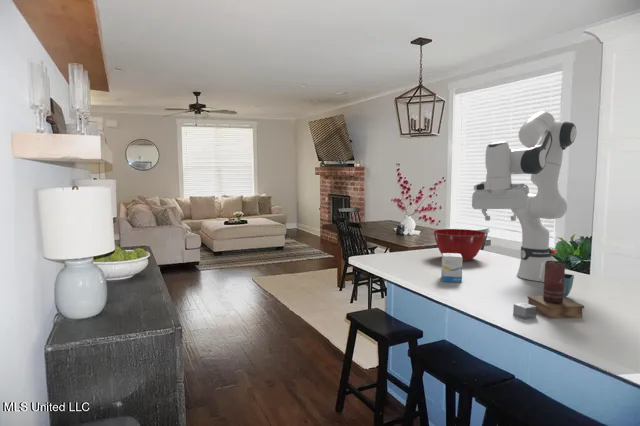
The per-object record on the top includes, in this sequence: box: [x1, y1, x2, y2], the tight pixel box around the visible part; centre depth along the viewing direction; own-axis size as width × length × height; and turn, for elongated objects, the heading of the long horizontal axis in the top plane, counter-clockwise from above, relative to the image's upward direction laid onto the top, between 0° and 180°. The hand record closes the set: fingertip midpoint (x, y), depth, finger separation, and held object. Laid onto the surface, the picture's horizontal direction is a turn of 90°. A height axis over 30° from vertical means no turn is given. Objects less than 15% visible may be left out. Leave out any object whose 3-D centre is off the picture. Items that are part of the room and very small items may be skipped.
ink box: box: [440, 253, 464, 283], centre depth 191 cm, size 9×8×12 cm
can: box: [542, 260, 566, 304], centre depth 147 cm, size 6×6×14 cm
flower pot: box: [563, 273, 575, 298], centre depth 165 cm, size 9×9×9 cm
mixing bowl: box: [432, 228, 487, 262], centre depth 237 cm, size 28×28×16 cm
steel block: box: [512, 301, 537, 321], centre depth 144 cm, size 5×5×4 cm
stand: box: [527, 295, 585, 319], centre depth 148 cm, size 13×13×4 cm
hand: (500, 220), depth 161 cm, fingers open, 8 cm apart
